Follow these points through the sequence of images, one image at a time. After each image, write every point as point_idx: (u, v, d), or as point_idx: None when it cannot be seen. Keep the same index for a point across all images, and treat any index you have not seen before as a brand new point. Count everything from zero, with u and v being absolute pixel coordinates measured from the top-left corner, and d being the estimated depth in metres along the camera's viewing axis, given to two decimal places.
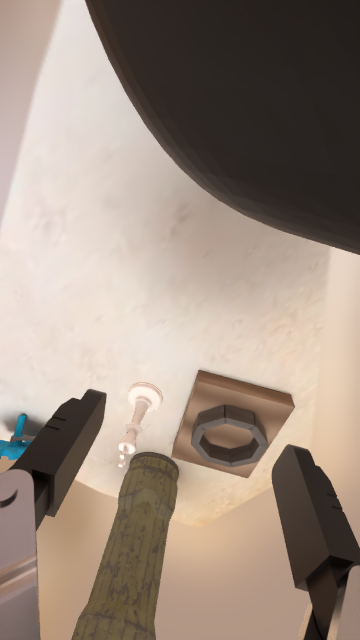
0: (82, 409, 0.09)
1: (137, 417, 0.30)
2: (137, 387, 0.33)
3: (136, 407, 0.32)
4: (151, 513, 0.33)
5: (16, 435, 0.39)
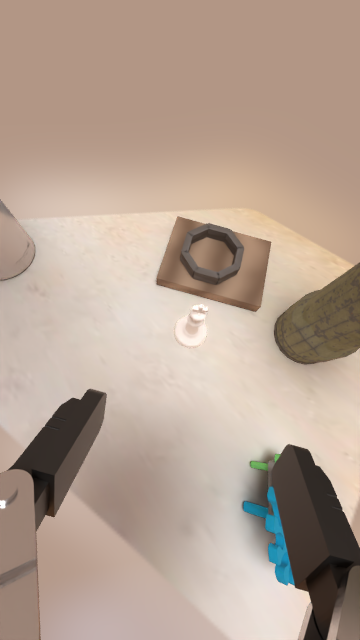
0: (82, 409, 0.09)
1: None
2: (175, 334, 0.34)
3: (188, 329, 0.33)
4: (308, 303, 0.29)
5: (268, 513, 0.27)
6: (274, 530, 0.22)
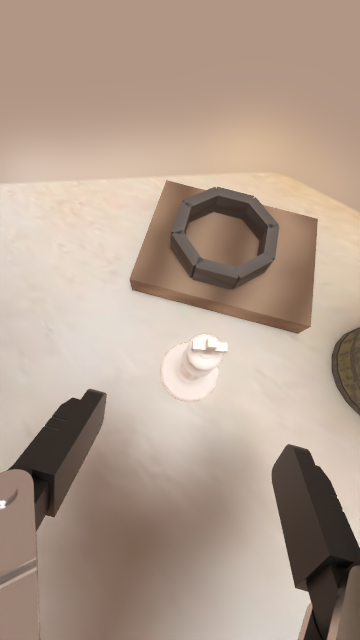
0: (82, 409, 0.09)
1: None
2: (163, 378, 0.19)
3: (185, 372, 0.18)
4: None
5: None
6: None
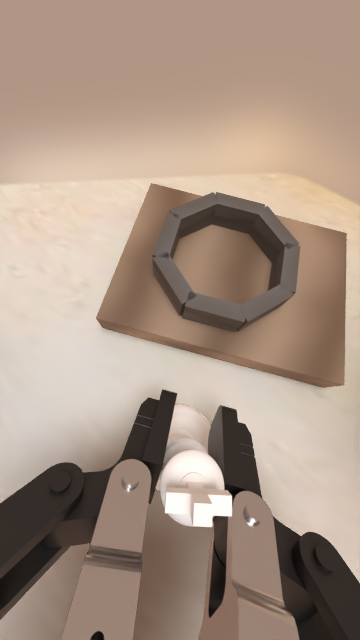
0: (164, 408, 0.10)
1: None
2: None
3: None
4: None
5: None
6: None
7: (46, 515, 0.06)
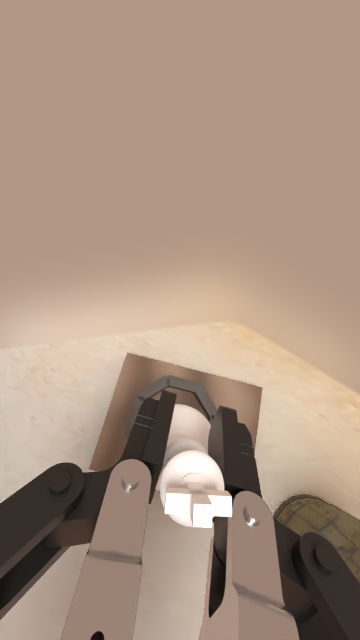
0: (164, 408, 0.10)
1: None
2: None
3: None
4: None
5: None
6: None
7: (46, 515, 0.06)
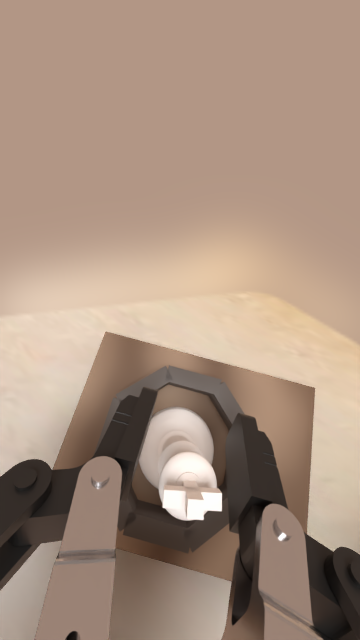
0: (143, 405, 0.10)
1: None
2: (140, 461, 0.15)
3: None
4: None
5: None
6: None
7: (12, 512, 0.06)
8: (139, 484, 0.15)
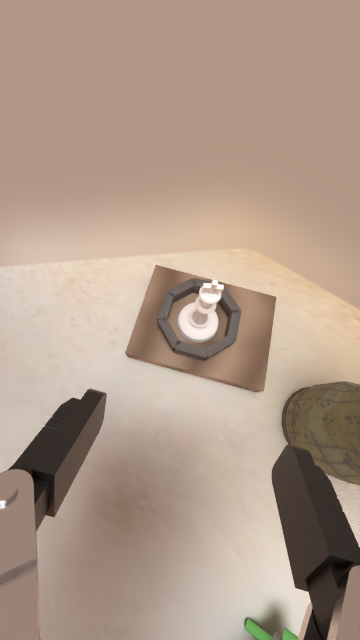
0: (82, 409, 0.09)
1: None
2: (179, 325, 0.28)
3: (196, 318, 0.26)
4: (333, 410, 0.21)
5: None
6: None
7: None
8: (179, 338, 0.28)
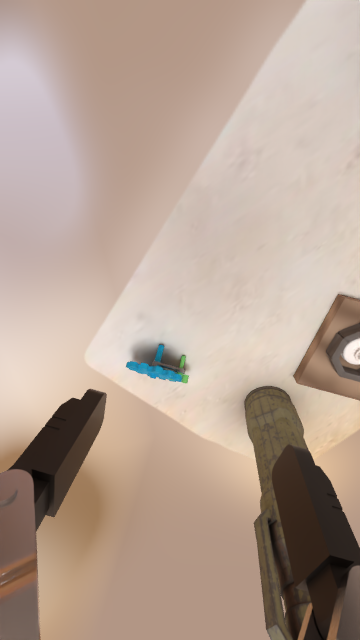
0: (82, 409, 0.09)
1: None
2: (359, 339, 0.36)
3: None
4: (292, 425, 0.38)
5: (158, 361, 0.42)
6: (155, 371, 0.37)
7: None
8: None
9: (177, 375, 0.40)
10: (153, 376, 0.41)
